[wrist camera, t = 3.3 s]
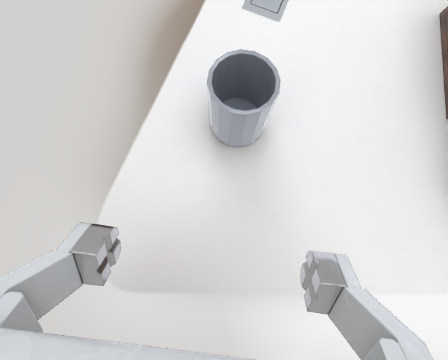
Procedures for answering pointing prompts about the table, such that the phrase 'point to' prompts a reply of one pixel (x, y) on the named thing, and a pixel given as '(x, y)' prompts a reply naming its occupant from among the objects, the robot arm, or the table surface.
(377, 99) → the table surface
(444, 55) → the cabinet
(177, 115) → the table surface
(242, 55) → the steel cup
